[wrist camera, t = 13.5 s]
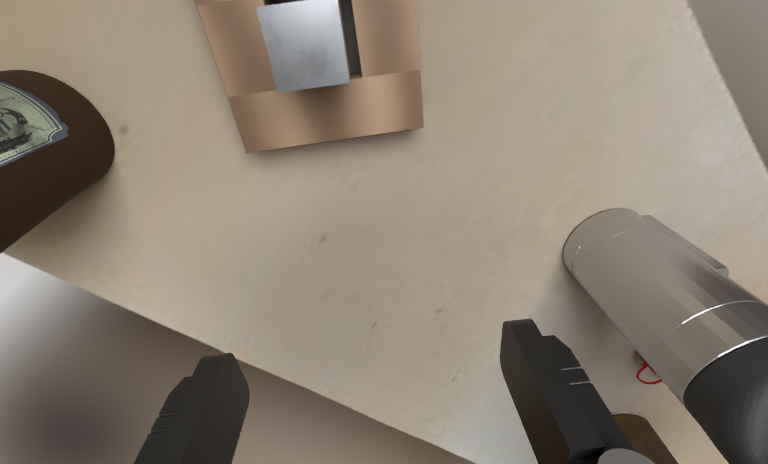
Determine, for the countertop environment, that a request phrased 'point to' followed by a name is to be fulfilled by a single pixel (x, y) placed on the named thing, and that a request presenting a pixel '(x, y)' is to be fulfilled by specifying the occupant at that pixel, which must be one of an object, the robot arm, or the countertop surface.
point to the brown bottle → (45, 149)
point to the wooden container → (644, 439)
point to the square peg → (306, 43)
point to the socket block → (329, 103)
